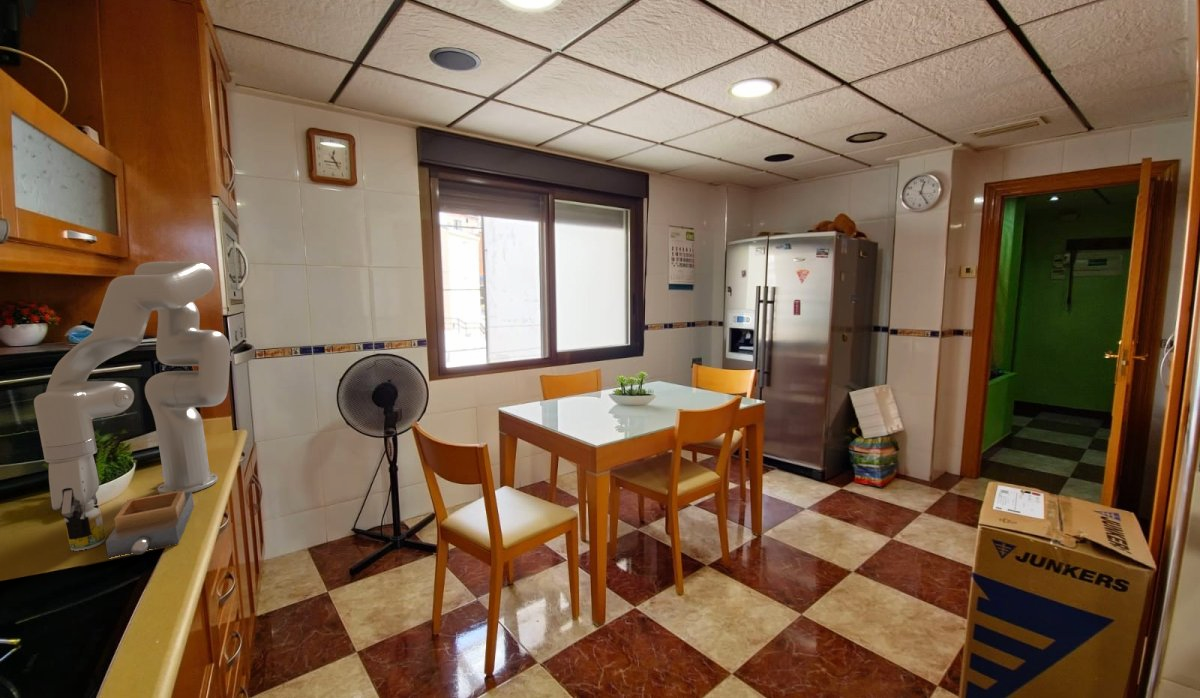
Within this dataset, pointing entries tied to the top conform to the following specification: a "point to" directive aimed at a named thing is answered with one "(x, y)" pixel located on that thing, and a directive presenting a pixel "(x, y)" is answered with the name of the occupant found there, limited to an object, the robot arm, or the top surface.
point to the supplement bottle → (95, 526)
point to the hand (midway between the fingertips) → (85, 529)
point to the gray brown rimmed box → (150, 523)
